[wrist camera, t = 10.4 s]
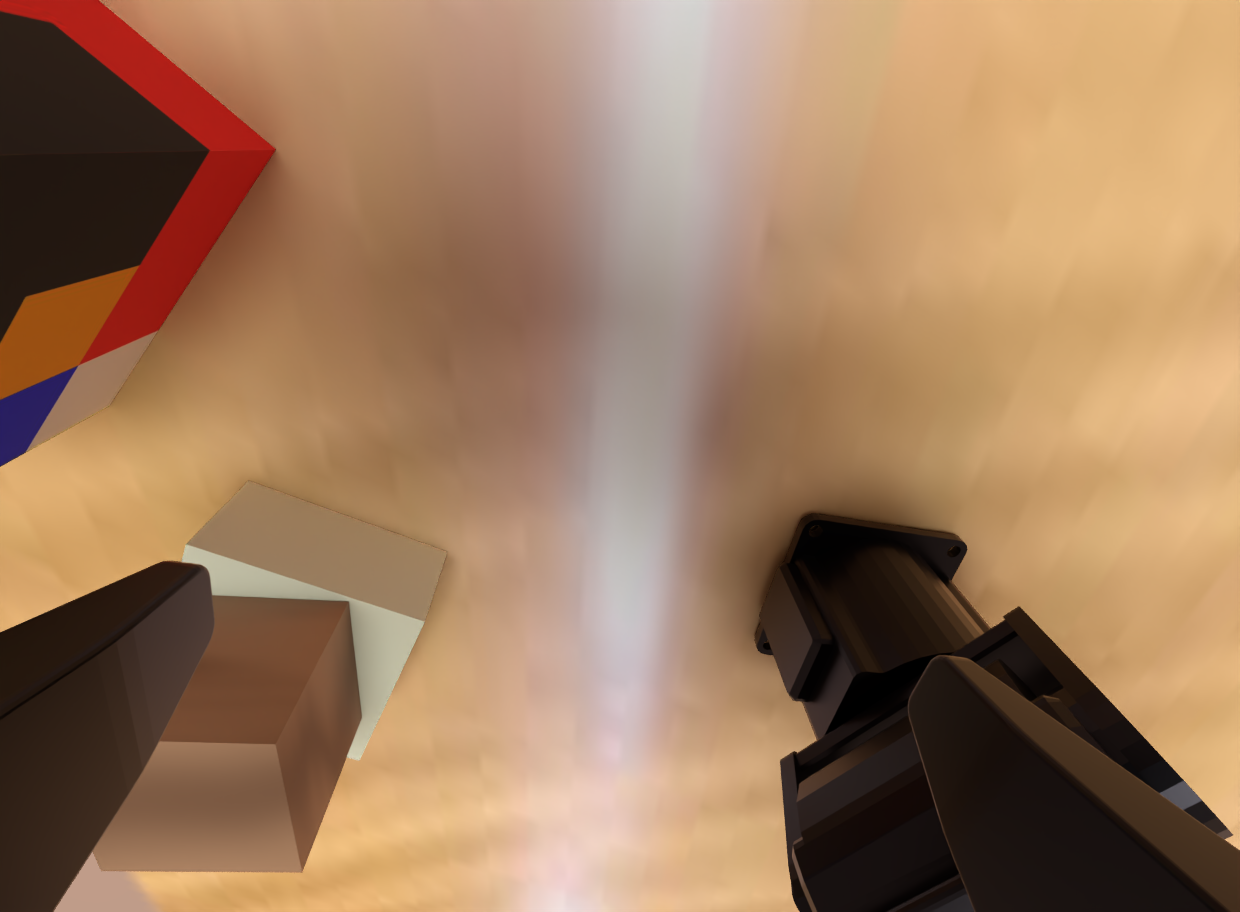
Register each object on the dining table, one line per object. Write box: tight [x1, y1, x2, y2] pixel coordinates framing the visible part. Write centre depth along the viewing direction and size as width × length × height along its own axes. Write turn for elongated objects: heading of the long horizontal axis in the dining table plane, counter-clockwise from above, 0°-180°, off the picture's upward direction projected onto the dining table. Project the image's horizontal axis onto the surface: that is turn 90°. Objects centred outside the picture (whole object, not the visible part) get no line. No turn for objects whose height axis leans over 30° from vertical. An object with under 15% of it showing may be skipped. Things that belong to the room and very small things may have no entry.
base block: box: [182, 481, 447, 760], centre depth 22 cm, size 7×7×4 cm
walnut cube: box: [93, 595, 362, 872], centre depth 17 cm, size 5×5×5 cm
